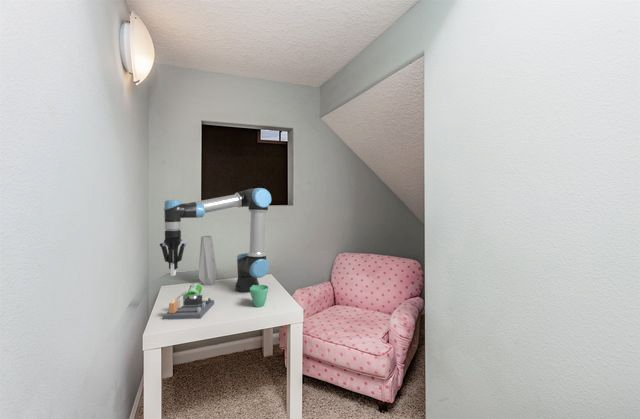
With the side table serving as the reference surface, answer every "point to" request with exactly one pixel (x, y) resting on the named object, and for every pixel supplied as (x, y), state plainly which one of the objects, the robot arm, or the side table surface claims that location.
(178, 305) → the fader
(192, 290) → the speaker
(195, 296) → the button
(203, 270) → the vase
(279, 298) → the side table surface
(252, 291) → the mug
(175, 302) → the fader
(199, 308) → the panel
